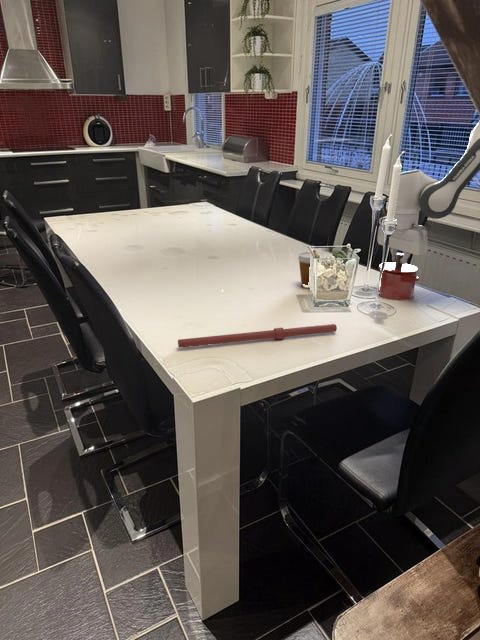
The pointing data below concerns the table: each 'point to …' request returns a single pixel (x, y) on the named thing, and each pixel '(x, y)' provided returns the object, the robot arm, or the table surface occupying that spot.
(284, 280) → the table surface
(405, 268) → the lid
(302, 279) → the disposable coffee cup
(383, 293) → the red cooking pot
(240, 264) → the table surface
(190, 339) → the dark red rod
